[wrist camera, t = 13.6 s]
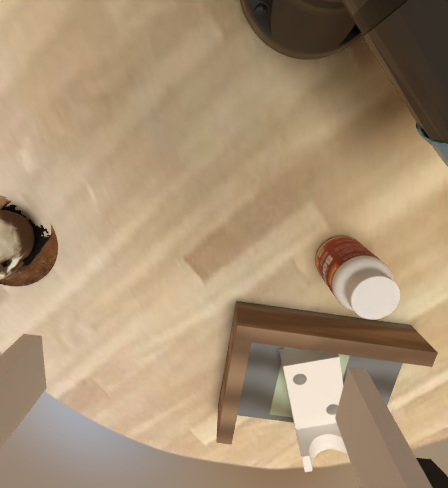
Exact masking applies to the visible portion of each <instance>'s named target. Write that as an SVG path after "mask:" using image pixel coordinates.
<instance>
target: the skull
mask: <svg viewBox="0 0 448 488" xmlns="http://www.w3.org/2000/svg"><path fill="white" fill-rule="evenodd" d="M5 199H6V198H5V196H0V284H4V285H8V286H25V285H29V284H32V283H35V282H37V281H39V280H40V279H42V278H43V277H44V276H46V275H47V274H48V272H49V271H50V270H51V268H52V267H53V265H54V263H55V261H56V257H57V245H58V244H57V239H56V234H55V231H54V229H53V227H52V225H51V235H47V236H49V237H44V236H43V235H44V233H43V232H44V231H46V233H48V232H47V229H44V227H43V226H42V225H41V228H40V227H38V226H37V225H36V226H35V224H34V223H33V222H32V221H31V220H28V219H27V218H26V216H24V215H23V214H21V210H15V207H16V206H15V205H10V206H7V207H6V205H7V204H8V203H10V202H11V201H8V200H7V199H6V200H5ZM50 224H51V223H50ZM46 228H47V227H46ZM41 234H42V236H41Z"/></svg>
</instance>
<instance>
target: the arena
mask: <svg viewBox="0 0 448 488" xmlns="http://www.w3.org/2000/svg"><path fill="white" fill-rule="evenodd" d="M284 348H296V349H304V350H311V351H319V352H326V353H333V354H338V355H339V357H340V365H341V372H342V379H343V386H344V382H345V379H346V375H347V371H348V368H355V369H365V370H367V372H368V374H369V375H370V377H371V379H372V381H373V383H374V384H375V386H376V388H377V390H378V391H379V393H380V395H381V397H382V399H383V400H384V402H385V404H386V406H387V404H388V401H389V398H390V396H391V393H392V390H393V387H394V385H395V382H396V379H397V377H398V374H399V371H400V369H401V366H402V363H408V364H415V365H422V366H430V367H432V366H433V363H434V361H435V358H436V356H437V352H436V351H435V349H434V348H433V347H432V346H431V345H430V344H429V343H428V342H427V341H426V340H425V339H424V338H423V337H422V336H421V335H420V334H419V333H418V332H417V331H416V330H415V329H414V328H413V327H412V326H411V325H405V324H397V323H390V322H383V321H376V320H368V319H361V318H354V317H347V316H339V315H332V314H325V313H318V312H310V311H303V310H296V309H289V308H281V307H274V306H267V305H260V304H252V303H245V302H238V301H236V307H235V313H234V318H233V324H232V330H231V336H230V342H229V347H228V353H227V359H226V365H225V371H224V376H223V382H222V388H221V394H220V400H219V405H218V422H217V443H224V444H232V439H233V434H234V429H235V423H236V418H237V415H240V416H248V417H255V418H263V419H271V420H279V421H286V422H294V421H293V416H292V411H291V406H290V401H289V396H288V391H287V386H286V381H285V376H284V371H283V366H282V362H281V357H280V352H279V349H284Z"/></svg>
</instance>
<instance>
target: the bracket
mask: <svg viewBox="0 0 448 488" xmlns="http://www.w3.org/2000/svg"><path fill="white" fill-rule="evenodd" d="M279 352H280V357H281V362H282V366H283V371H284V376H285V381H286V386H287V391H288V396H289V401H290V406H291V411H292V416H293V421H294V425H295V430H296V434H297V439H298V443H299V447H300V452H301V456H302V461H303V465H304V470H305V472H309V471H312V462H313V459H314V457H315V456H316V455H317V454H318V453H319V452H321V451H323V450H326V449H335V450H339V451H341V452H343V453H345V454H346V455H347V456H348V453H347V450H346V447H345V445H344V442H343V439H342V436H341V433H340V431H339V428H338V425H337V422H336V419H335V416H336V412H337V409H338V405H339V401H340V397H341V394H342V390H343V379H342V372H341V365H340V357H339V355H338V354H333V353H326V352H319V351H311V350H304V349H296V348H284V349H279ZM348 457H349V456H348Z"/></svg>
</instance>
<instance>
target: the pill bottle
mask: <svg viewBox="0 0 448 488" xmlns="http://www.w3.org/2000/svg"><path fill="white" fill-rule="evenodd" d="M316 267H317V270H318V272H319V273H320V275H321V276H322V278H323V279H324V281H325V282H326V284H327V285H328V287H329V288H330V290H331V291H332V293H333V294H334V296H335V297H336V299H337V300H338V301H339V302H340V303H341V304H342V305H343V306H344V307H346V308H348V309H350V310H353V311H354V312H355V313H356V314H357V315H359V316H360V317H363V318H365V319H380V318H383V317H385V316H387V315H389V314H390V313H391V312H392V311H393V310H394V309H395V308H396V307H397V305H398V303H399V300H400V290H399V287H398V285H397V284H396V283H395V282H394V281H393V276H392V273H391V271H390V269H389V268H388V267H387V266H386V264H385V263H384V262H382V261H381V260H380V259H379V258H378V257H376V256H375V255H374V254H373V253H371V252H370V251H369V250H368V249H366V248H365V247H364V246H363V245H362V244H360V243H359V242H358V241H356V240H355V239H353V238H350V237H346V236H339V237H334V238H332V239H330V240H328V241H326V242H325V243H324V244H323V245H322V246H321V247H320V249H319V250H318V252H317V255H316Z"/></svg>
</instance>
